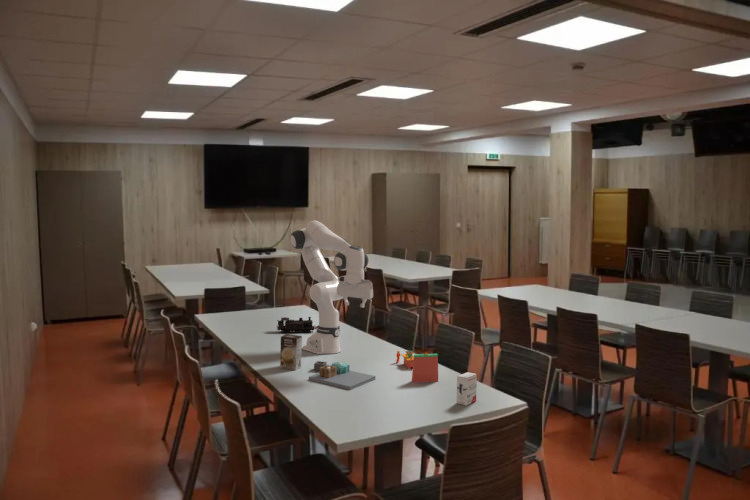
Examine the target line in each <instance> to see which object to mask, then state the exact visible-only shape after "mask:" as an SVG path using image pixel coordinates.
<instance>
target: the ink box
mask: <svg viewBox="0 0 750 500" xmlns="http://www.w3.org/2000/svg"><path fill="white" fill-rule="evenodd" d="M477 375H478V374H477V373H473V372H464V373H462V374H460V375H457V377H456V404H459V405H463V406H469V405H470V404H472V403H475V402H477V386H478V385H477V383H478V382H477V381H478V380H477V379H478V377H477Z"/></svg>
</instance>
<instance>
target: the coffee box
mask: <svg viewBox="0 0 750 500" xmlns="http://www.w3.org/2000/svg"><path fill="white" fill-rule="evenodd" d="M302 343H303V336H302V335H298V334H297V335H296V334H291V333H289V334H288V333H284V334H283V335H282V336H280V357H279V359H280V360H279V361H280V362H279V366H280V367H279V369H285V370H292V371H297V370H299V369H300V368H302V352H303V351H302V350H303V349H302V347H303V346H302Z"/></svg>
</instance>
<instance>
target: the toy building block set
mask: <svg viewBox="0 0 750 500" xmlns="http://www.w3.org/2000/svg"><path fill="white" fill-rule="evenodd" d="M400 352H401V351H400V350H397V351H396V362H395V363H396V364H400V359H401V358H400V357H403V365H404V366H405V367H406V368H407V369H408V370H409V369H411V368H412V370H411V371H412V375H411V383H431V382H439V354H438V353H427V351H426V352H424V353H420V354H415V352H414V350H405V351H404V352H405V354H404V353H403V354H402V353H400Z"/></svg>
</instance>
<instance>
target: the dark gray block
mask: <svg viewBox="0 0 750 500" xmlns="http://www.w3.org/2000/svg"><path fill="white" fill-rule="evenodd" d="M327 363H328V362H327V361H320V360H319V361H318V360H317V361H315V362H314V363H313V371H314V372H320V367H323V366H326V365H328V364H327Z"/></svg>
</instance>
